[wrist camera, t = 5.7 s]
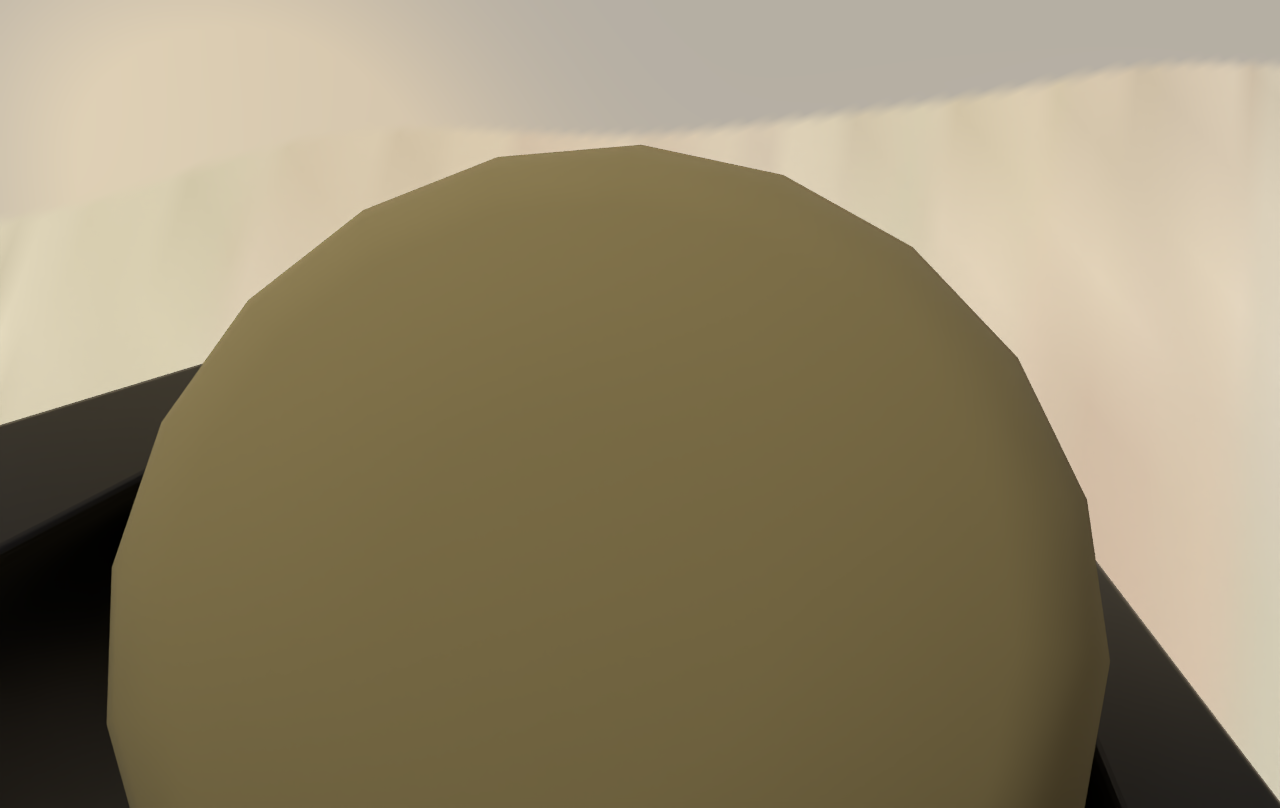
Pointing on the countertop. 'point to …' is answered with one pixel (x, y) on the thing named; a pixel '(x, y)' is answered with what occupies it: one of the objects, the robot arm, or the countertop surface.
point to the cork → (607, 519)
